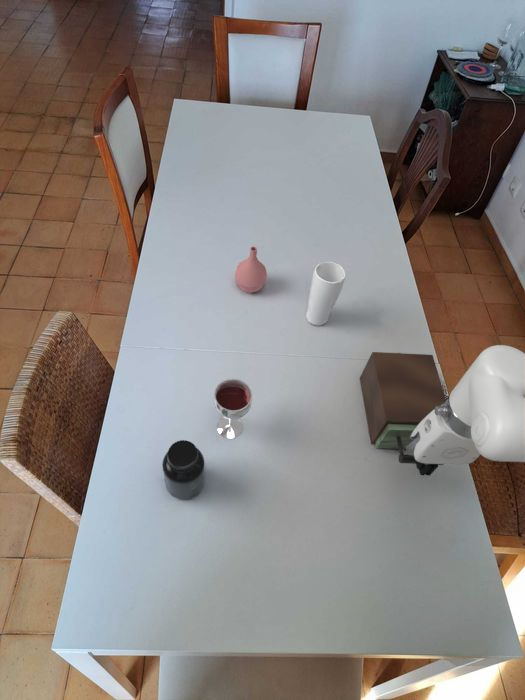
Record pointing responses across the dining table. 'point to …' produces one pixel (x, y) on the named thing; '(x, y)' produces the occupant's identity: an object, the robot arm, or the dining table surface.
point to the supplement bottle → (184, 470)
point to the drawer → (397, 440)
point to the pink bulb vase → (251, 273)
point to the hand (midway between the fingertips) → (422, 467)
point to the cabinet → (399, 390)
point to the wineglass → (232, 406)
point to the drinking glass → (324, 291)
